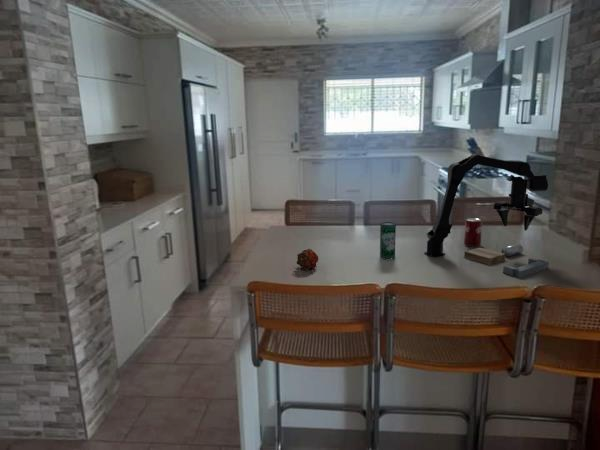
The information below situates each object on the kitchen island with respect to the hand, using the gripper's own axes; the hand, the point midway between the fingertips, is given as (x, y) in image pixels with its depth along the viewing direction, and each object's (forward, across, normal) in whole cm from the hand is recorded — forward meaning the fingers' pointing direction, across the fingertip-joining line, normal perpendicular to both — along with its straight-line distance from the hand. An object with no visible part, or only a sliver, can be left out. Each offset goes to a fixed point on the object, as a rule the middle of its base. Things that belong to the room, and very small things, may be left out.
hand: (515, 228), depth 188 cm
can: (+12, +29, +45) cm, 55 cm away
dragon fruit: (+12, +38, +80) cm, 89 cm away
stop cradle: (+12, -15, +14) cm, 23 cm away
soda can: (+12, +20, +1) cm, 23 cm away
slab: (+12, +4, +14) cm, 19 cm away
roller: (+12, 0, 0) cm, 12 cm away
